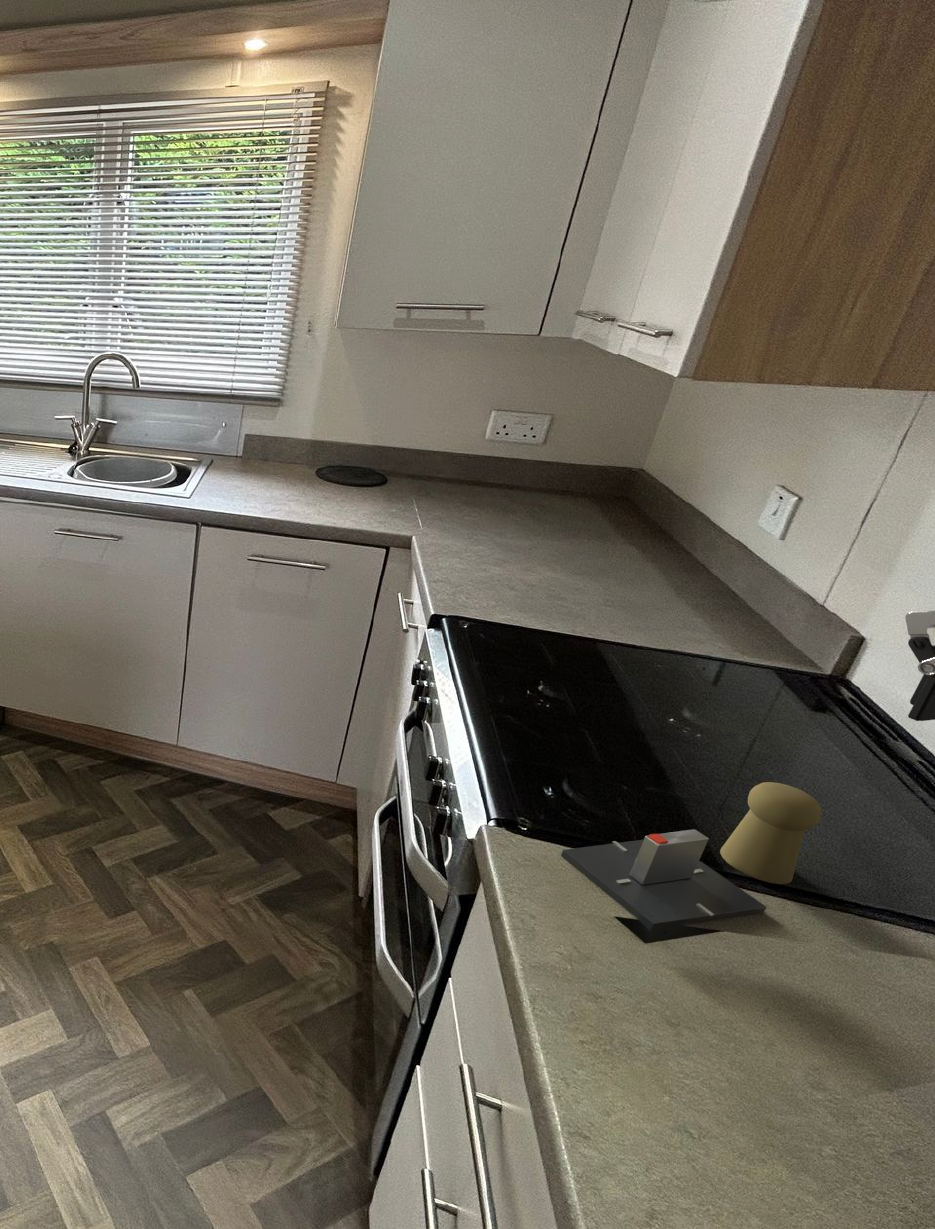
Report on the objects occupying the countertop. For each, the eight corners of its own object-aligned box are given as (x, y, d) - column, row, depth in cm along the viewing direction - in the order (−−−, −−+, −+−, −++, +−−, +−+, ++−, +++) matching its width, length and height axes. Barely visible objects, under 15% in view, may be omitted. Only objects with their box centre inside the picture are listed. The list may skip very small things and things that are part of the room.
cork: (762, 903, 76) (806, 815, 72) (697, 862, 81) (734, 778, 77) (803, 892, 78) (849, 805, 74) (736, 852, 83) (775, 769, 79)
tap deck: (656, 854, 83) (664, 834, 82) (758, 927, 73) (768, 906, 72) (555, 867, 80) (562, 847, 80) (646, 944, 71) (655, 923, 70)
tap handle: (677, 867, 77) (695, 826, 75) (691, 877, 76) (710, 836, 74) (629, 875, 76) (645, 833, 74) (642, 885, 75) (659, 843, 73)
